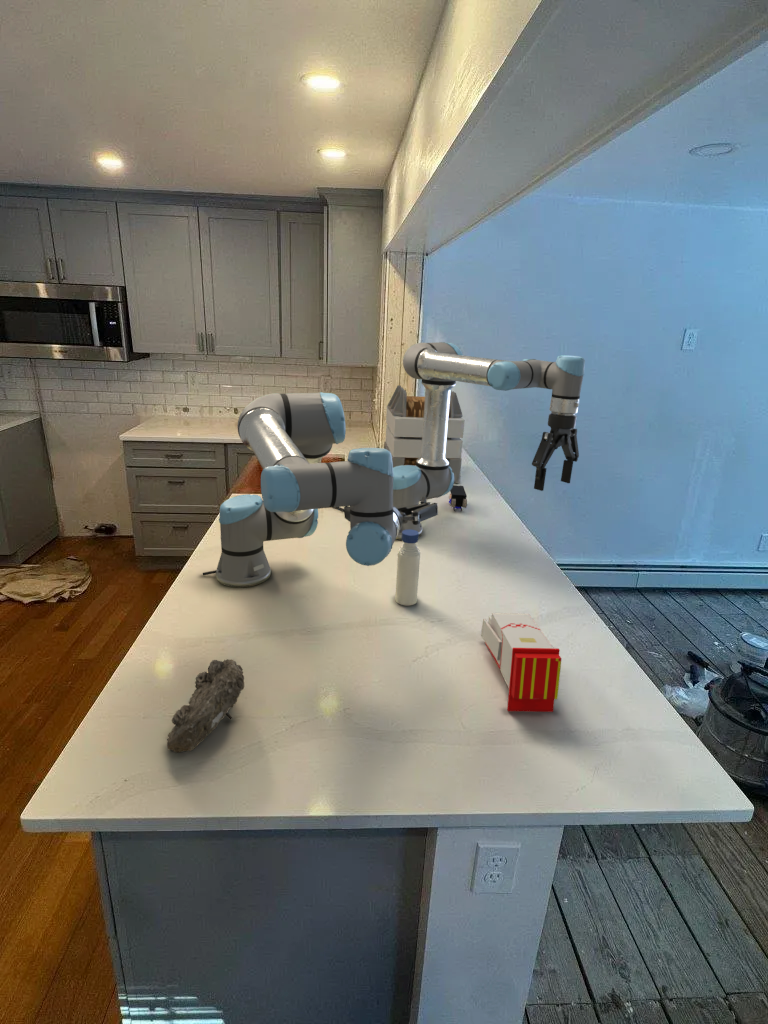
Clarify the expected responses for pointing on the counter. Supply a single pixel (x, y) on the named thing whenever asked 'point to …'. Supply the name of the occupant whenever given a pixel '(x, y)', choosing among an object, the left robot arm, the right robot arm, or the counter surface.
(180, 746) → the fossil
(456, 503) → the figurine character
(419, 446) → the grey slatted crate
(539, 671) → the toy
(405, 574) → the bottle
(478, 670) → the counter surface
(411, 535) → the cap
